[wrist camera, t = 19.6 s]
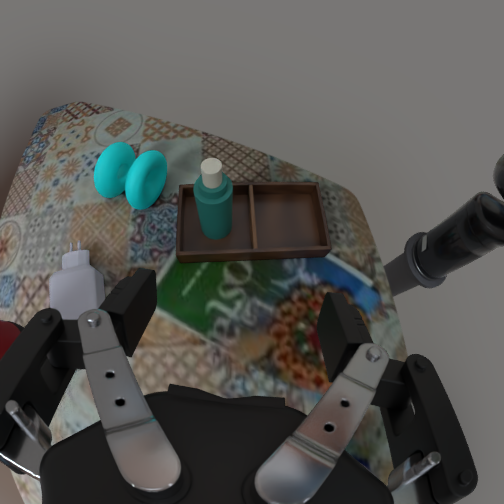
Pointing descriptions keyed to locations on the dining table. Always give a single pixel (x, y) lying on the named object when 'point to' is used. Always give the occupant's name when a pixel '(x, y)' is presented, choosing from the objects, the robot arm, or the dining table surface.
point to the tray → (257, 224)
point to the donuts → (130, 174)
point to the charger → (76, 285)
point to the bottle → (214, 199)
